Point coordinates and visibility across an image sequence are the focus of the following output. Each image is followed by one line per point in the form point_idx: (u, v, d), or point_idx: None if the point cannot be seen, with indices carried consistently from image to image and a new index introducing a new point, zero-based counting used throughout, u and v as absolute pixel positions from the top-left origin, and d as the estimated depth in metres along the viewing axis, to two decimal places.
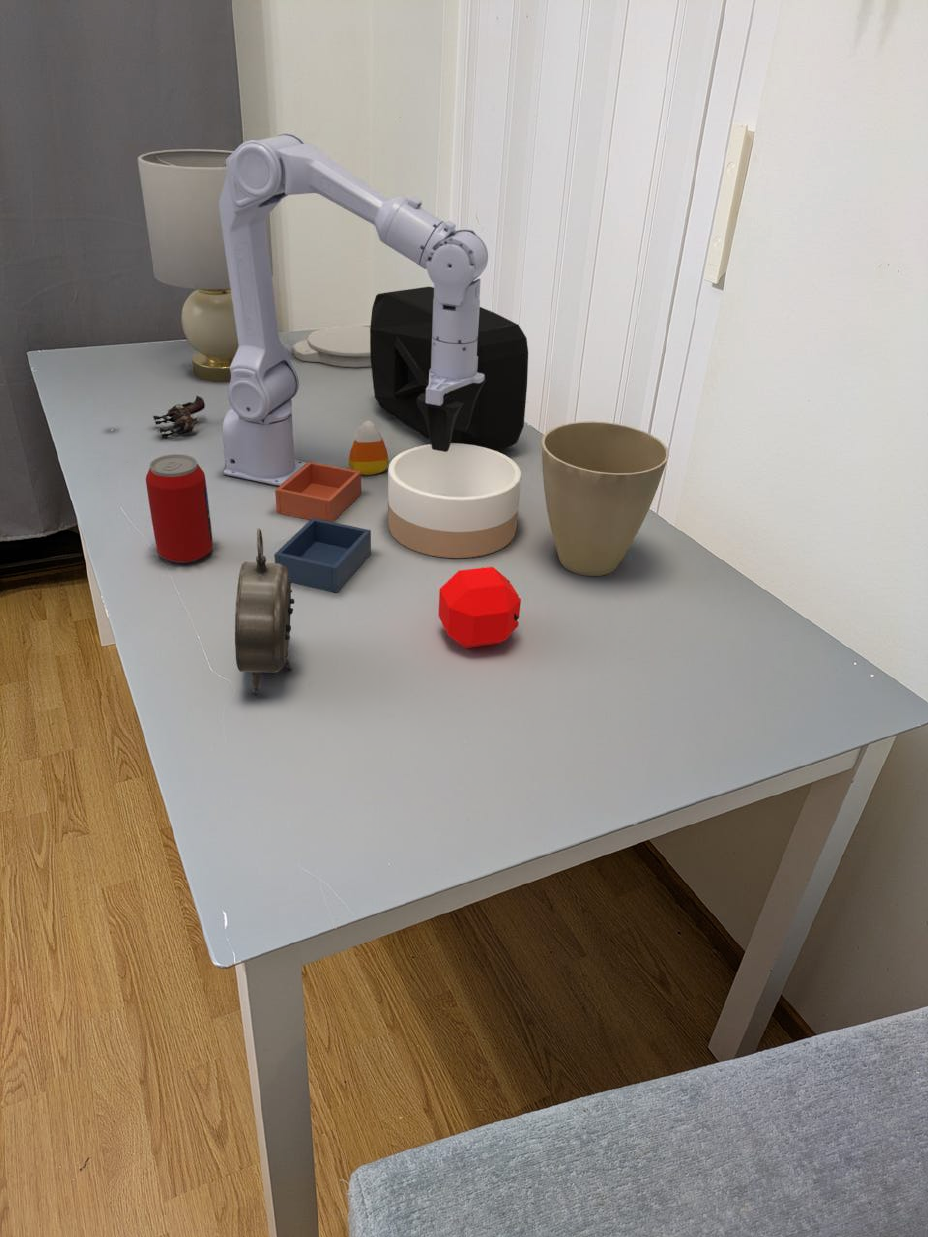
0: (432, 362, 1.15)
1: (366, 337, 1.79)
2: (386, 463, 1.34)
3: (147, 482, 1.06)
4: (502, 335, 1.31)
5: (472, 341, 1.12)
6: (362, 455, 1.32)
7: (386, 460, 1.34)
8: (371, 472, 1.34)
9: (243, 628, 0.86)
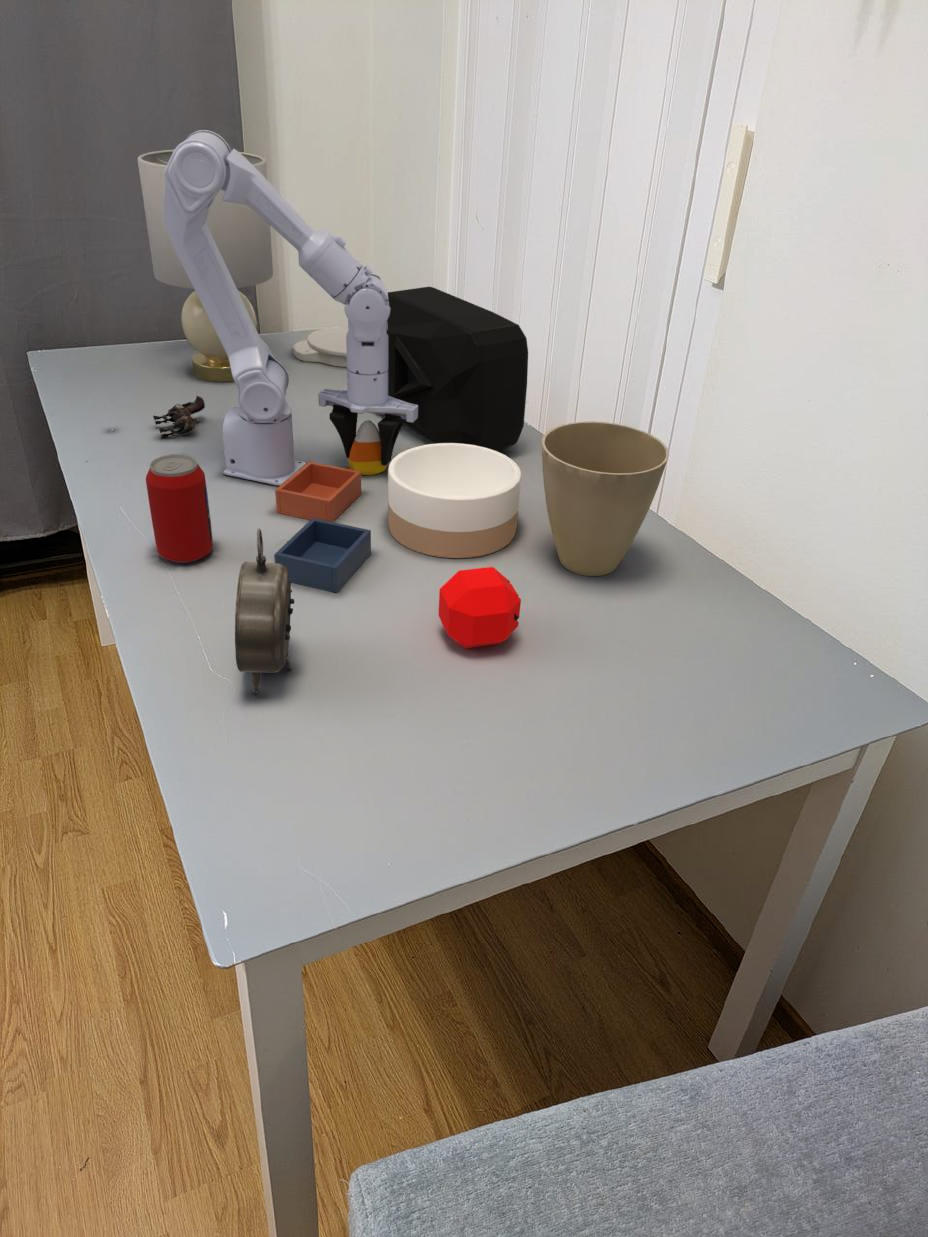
0: None
1: None
2: None
3: (147, 482, 1.06)
4: (502, 335, 1.31)
5: (352, 372, 1.25)
6: (362, 455, 1.32)
7: None
8: (371, 472, 1.34)
9: (243, 628, 0.86)
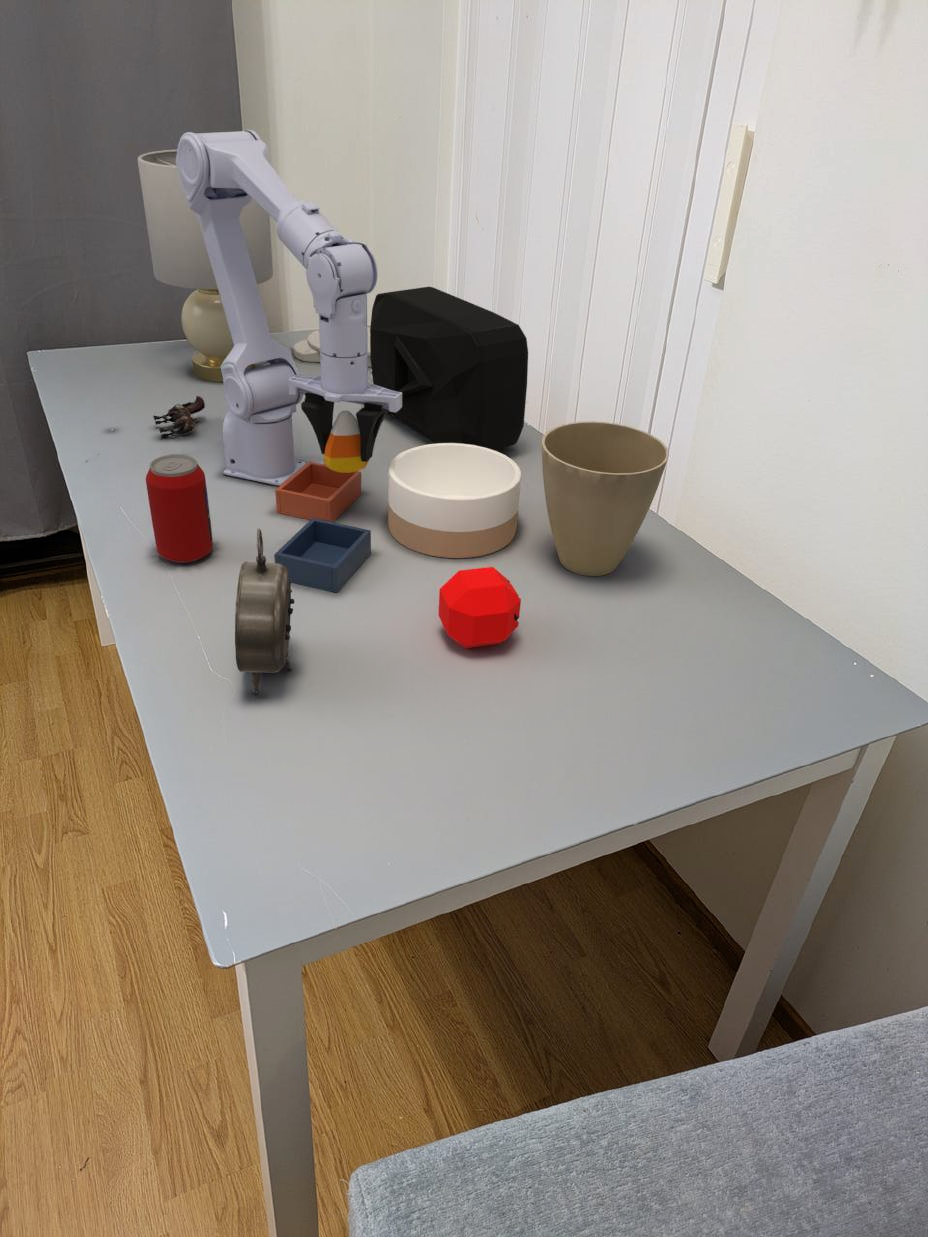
0: None
1: None
2: None
3: (147, 482, 1.06)
4: (502, 335, 1.31)
5: (326, 354, 1.09)
6: (339, 450, 1.16)
7: None
8: (350, 470, 1.18)
9: (243, 628, 0.86)
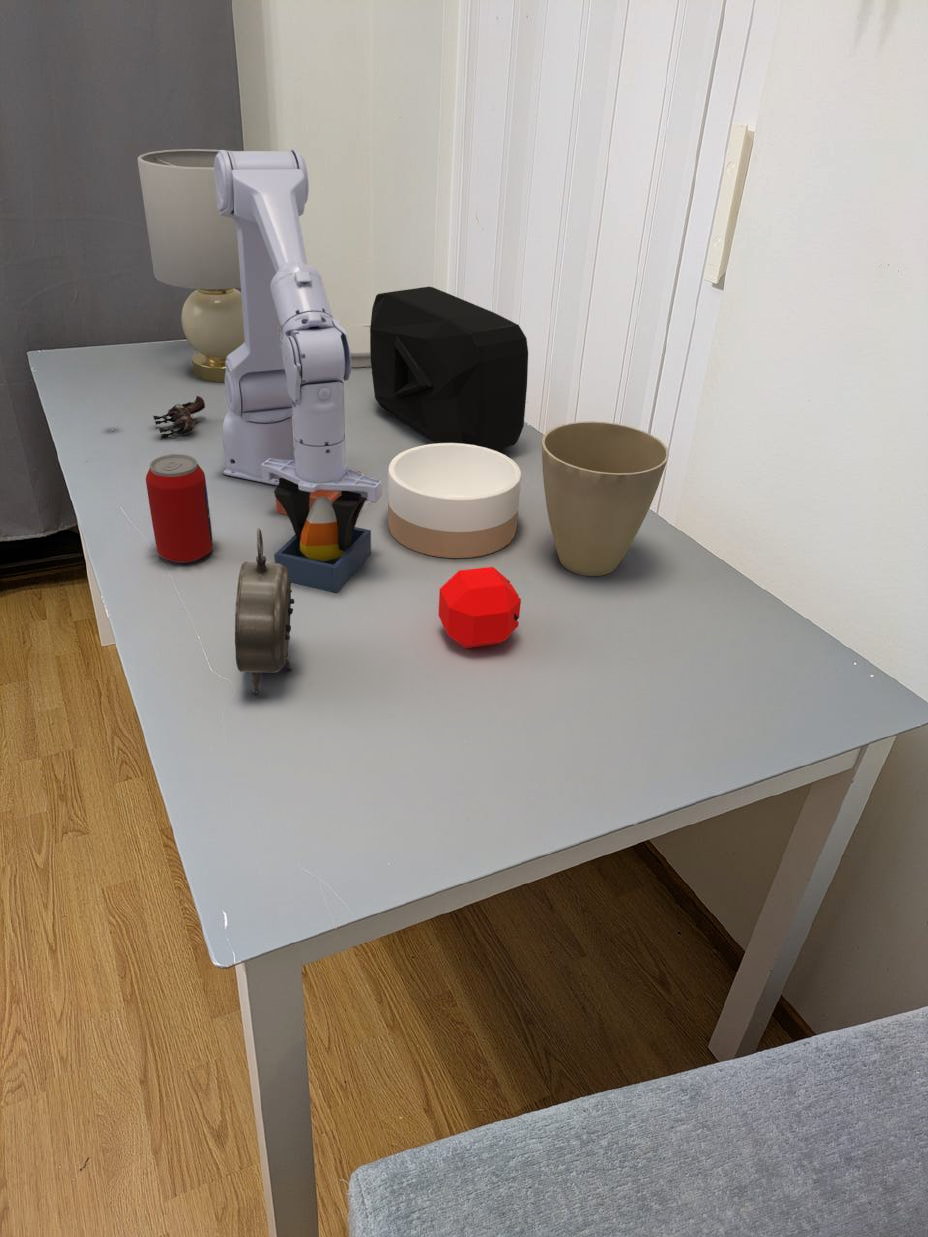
0: None
1: (366, 337, 1.79)
2: None
3: (147, 482, 1.06)
4: (502, 336, 1.31)
5: (300, 442, 1.01)
6: (315, 539, 1.09)
7: None
8: (328, 558, 1.10)
9: (243, 628, 0.86)
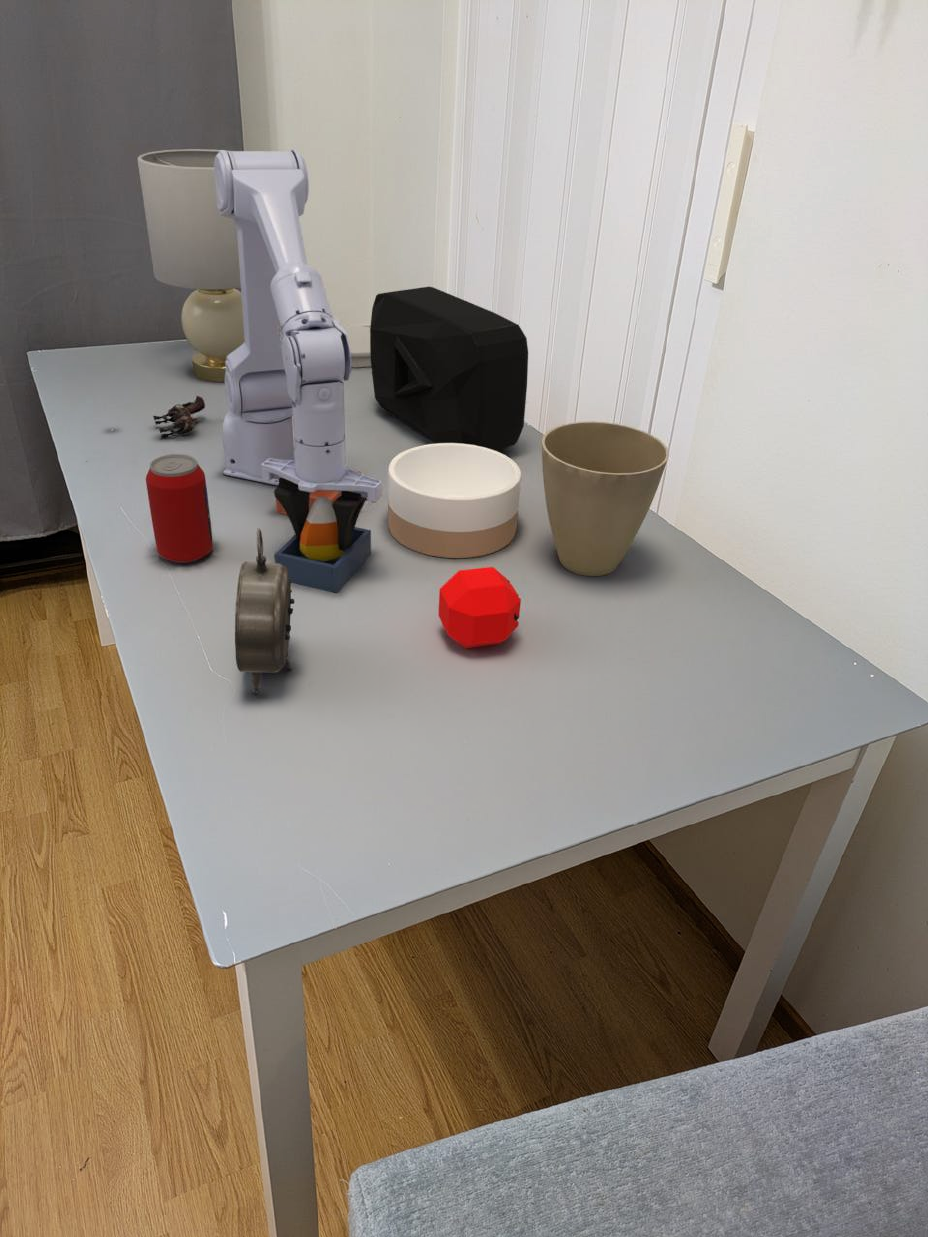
0: None
1: (366, 337, 1.79)
2: None
3: (147, 482, 1.06)
4: (502, 336, 1.31)
5: (300, 442, 1.01)
6: (315, 539, 1.09)
7: None
8: (327, 558, 1.10)
9: (243, 628, 0.86)
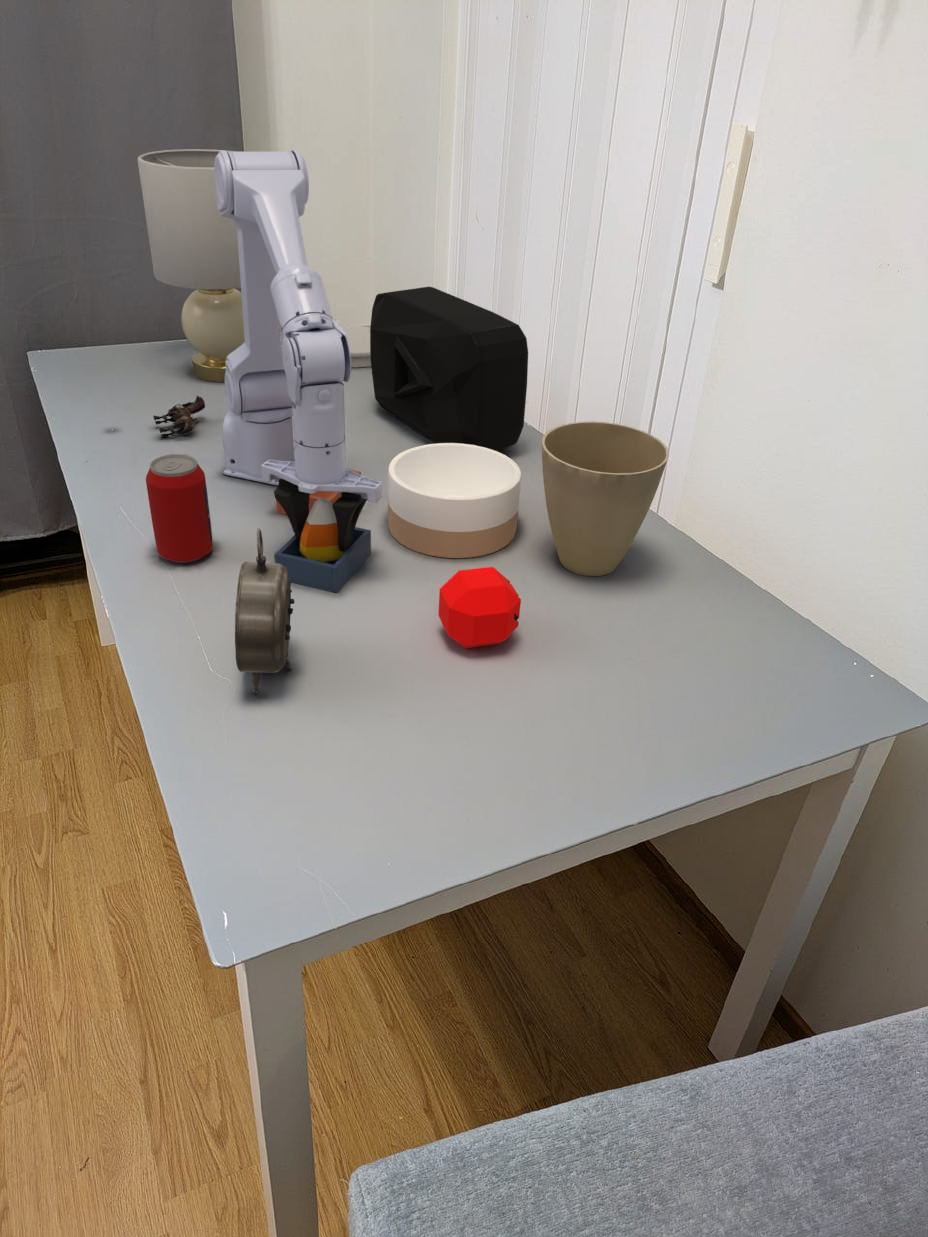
0: None
1: (366, 337, 1.79)
2: None
3: (147, 482, 1.06)
4: (502, 335, 1.31)
5: (300, 444, 1.01)
6: (315, 540, 1.09)
7: None
8: (327, 559, 1.10)
9: (243, 628, 0.86)
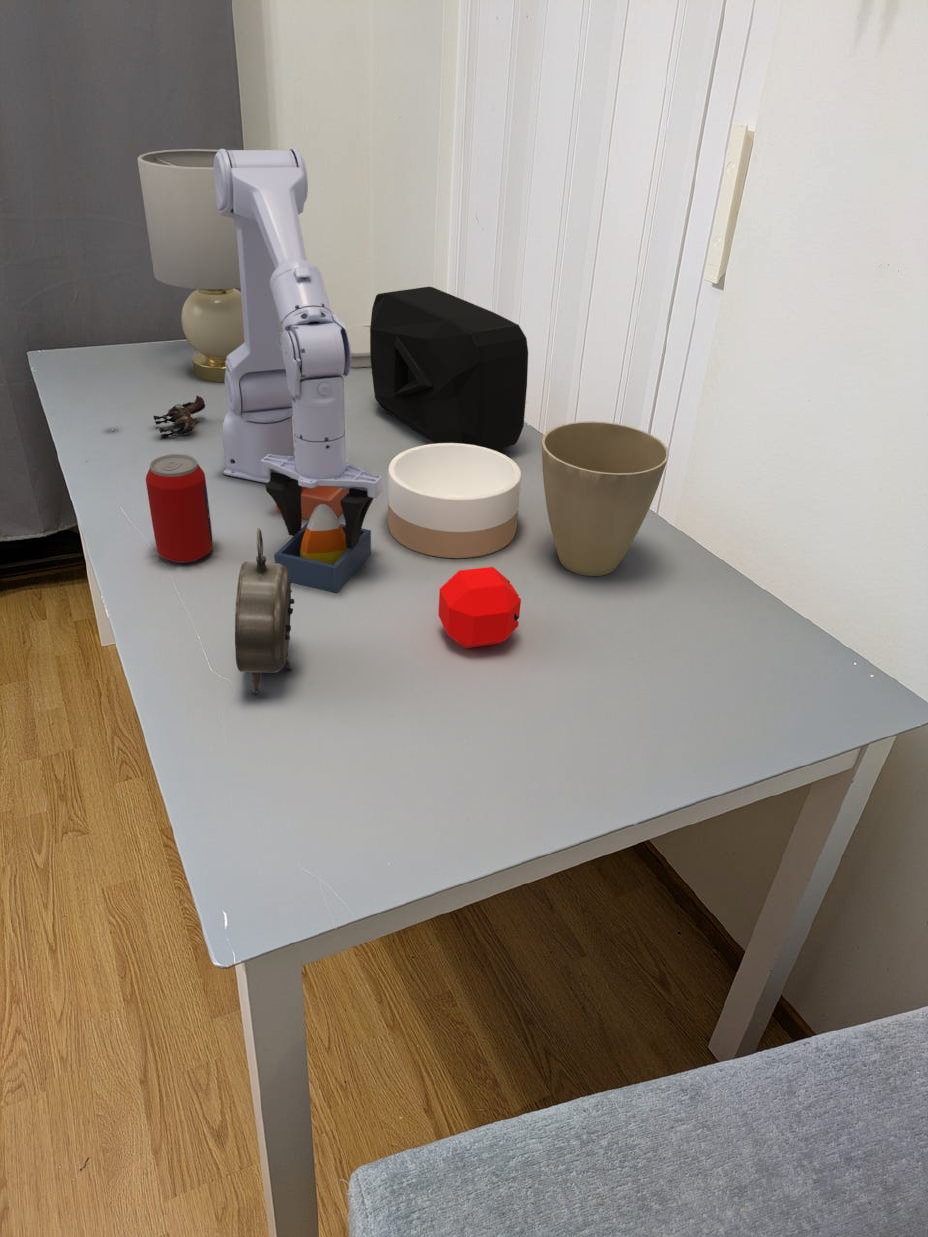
0: None
1: (366, 337, 1.79)
2: None
3: (147, 482, 1.06)
4: (502, 335, 1.31)
5: (300, 438, 1.01)
6: (316, 546, 1.09)
7: (346, 549, 1.11)
8: None
9: (243, 628, 0.86)
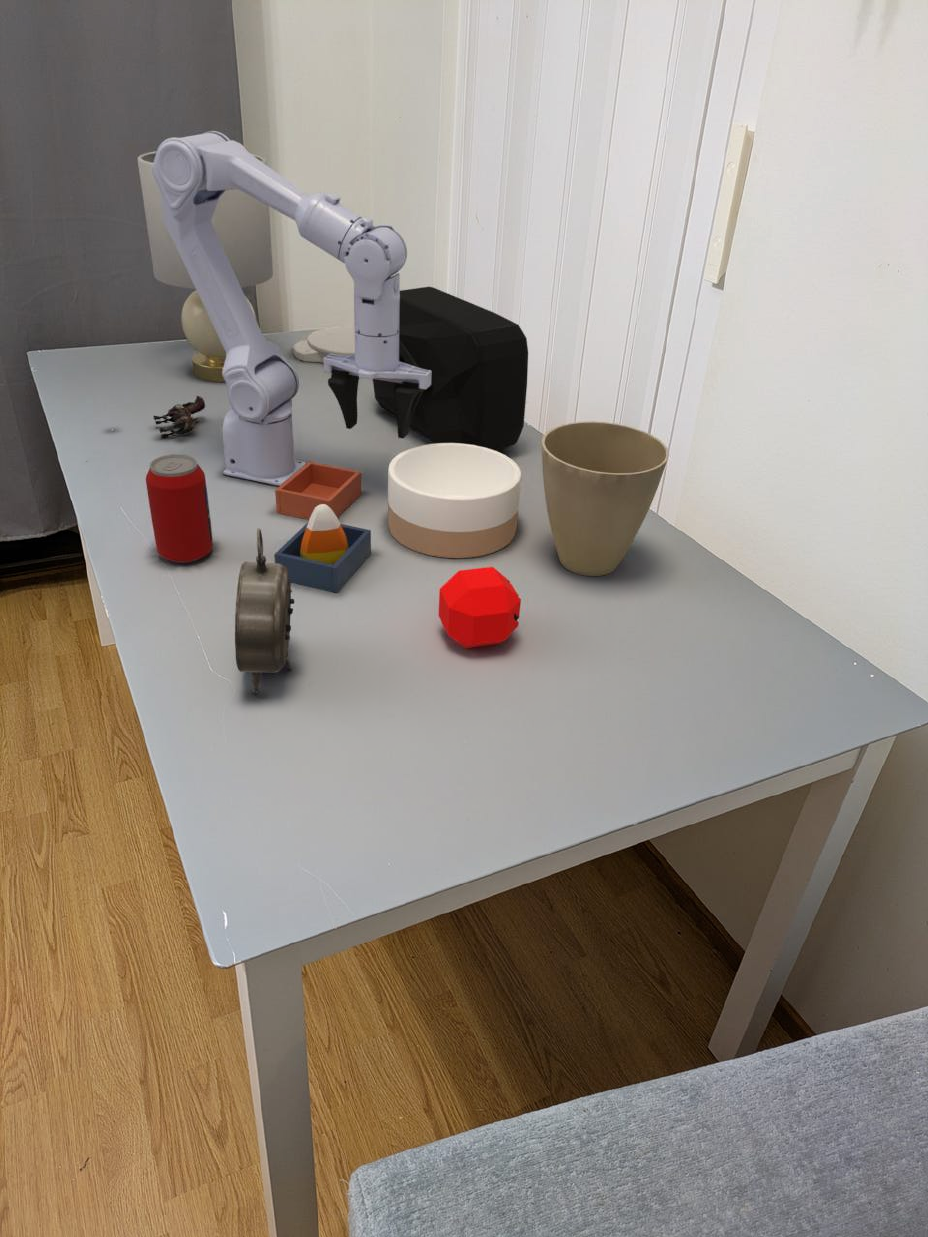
0: None
1: None
2: None
3: (147, 482, 1.06)
4: (502, 335, 1.31)
5: (361, 334, 1.15)
6: (316, 546, 1.09)
7: (346, 549, 1.11)
8: None
9: (243, 628, 0.86)
